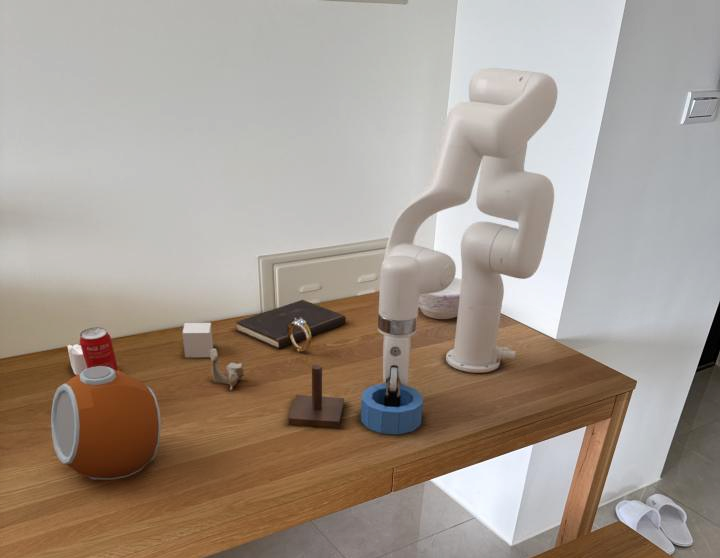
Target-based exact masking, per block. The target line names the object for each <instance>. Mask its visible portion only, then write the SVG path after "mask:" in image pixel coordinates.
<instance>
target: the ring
mask: <svg viewBox="0 0 720 558" xmlns="http://www.w3.org/2000/svg"><path fill="white" fill-rule="evenodd" d="M294 319H295V321H294V322H292V323H291V324H289V325H288V327H287V333H288V337H289V340H290V342H291V344H290V345H292V347H293V348H294V349H295V350H296V352H298V353H299V352H304V351H307V350H308V349H309V347H310V346H311V343H312V336H311V332H310V329H309V327H308V325H307V324H306V321H305V320H303V319H302V320H301V318H300V320H299V319H298V320H297V319H296V318H294ZM295 325H296V326H298V327H300V328H301V329H302V330H303V331H304V334H305V337H306V338H305V345H304V347H302V346H301V345H298V344H297V342H295V341H294V338H293V334H292V330H293V326H295Z"/></svg>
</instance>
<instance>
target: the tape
mask: <svg viewBox="0 0 720 558" xmlns="http://www.w3.org/2000/svg"><path fill="white" fill-rule="evenodd" d="M386 385H387V384H386V383H384V382H383V383H379V384H375V385H373V384H372V385H370V386H369V387H368V388H366V389H364V390H363V391H362V393H361V404H360V405H361V406H360V422H361V423H362V424H363V425H364V426H365V427H366V428H367V429H368V430H371V431H373V432H376V433H379V434H382V435H396V436H397V435H403V434H407V433H412V432H414V431H415V430H416V429H418V428H419V427H420V426H421V425H422V415H423V407H424V395H423V394H422V393H421V392H419V390H417V389H416V388H414V387H412V386H409V385H407V384H406V385H404V384H400V395H399V396H401V398H400V407H386V406H384V398H385V395H386ZM397 387H398V385H396V389H397ZM389 388H390V385H389Z"/></svg>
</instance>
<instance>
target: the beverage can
mask: <svg viewBox="0 0 720 558" xmlns="http://www.w3.org/2000/svg"><path fill="white" fill-rule="evenodd" d="M79 345H81V349H82V352H83V356H84V360H85V364H86V367H87V369H88V368H91V367H97V366H104V367H110V368H112V369H113V370H116V371H119V368H118V363H117V359H116V355H115V350H114V345H113V342H112V337H111V336H110V334H109V333H108V330H107V329H106V328H104V327H101V326H99V327H98V326H97V327H96V326H95V327H90V328H85V329H84V330H82V331H81V332H80V334H79Z"/></svg>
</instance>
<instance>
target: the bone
mask: <svg viewBox="0 0 720 558" xmlns="http://www.w3.org/2000/svg"><path fill="white" fill-rule="evenodd" d="M218 355H219V354H218V350H217V348H214V347H213V349H212V350H211V351H210V357H209V358H210V361H211V362H210V364H211V376H212V380H213V382H214V383H218V384H219V383H220V384H227V385H230V388H229V390H230V391H233V389H234V386H235V385H236V384H237V383H238V381H240V379H242V378H243V377H245V375H246V374H245V372H244V369H245V366H244V365H243V364H242V362H240V363H235V362H230V363H229V364H227V365H226V366H225V374H226V375H224V374H223V373H222V372H221V371H220V369H219V364H218V361H219V356H218Z"/></svg>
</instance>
